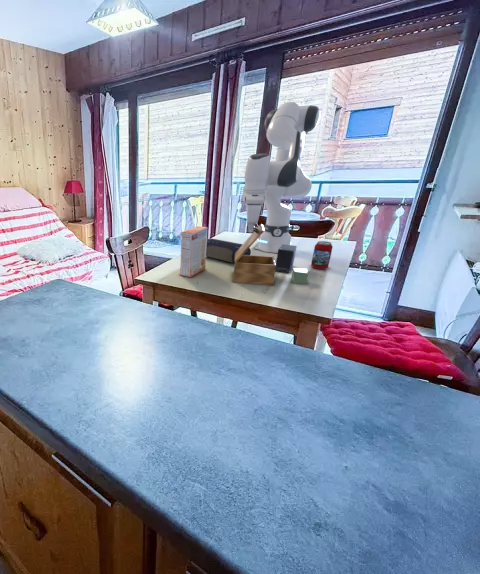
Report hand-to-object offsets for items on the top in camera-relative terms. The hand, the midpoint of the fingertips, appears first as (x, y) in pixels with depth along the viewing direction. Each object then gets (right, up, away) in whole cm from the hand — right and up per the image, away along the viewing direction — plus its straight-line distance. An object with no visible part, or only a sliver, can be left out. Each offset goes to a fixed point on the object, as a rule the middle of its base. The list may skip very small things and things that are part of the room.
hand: (250, 230), depth 137 cm
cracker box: (-19, -17, +18) cm, 32 cm away
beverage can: (+39, -15, +15) cm, 45 cm away
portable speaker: (+2, -10, +33) cm, 35 cm away
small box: (+24, -16, +16) cm, 33 cm away
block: (+21, -22, +1) cm, 30 cm away
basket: (+4, -20, +7) cm, 22 cm away
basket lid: (+1, -5, +2) cm, 6 cm away
